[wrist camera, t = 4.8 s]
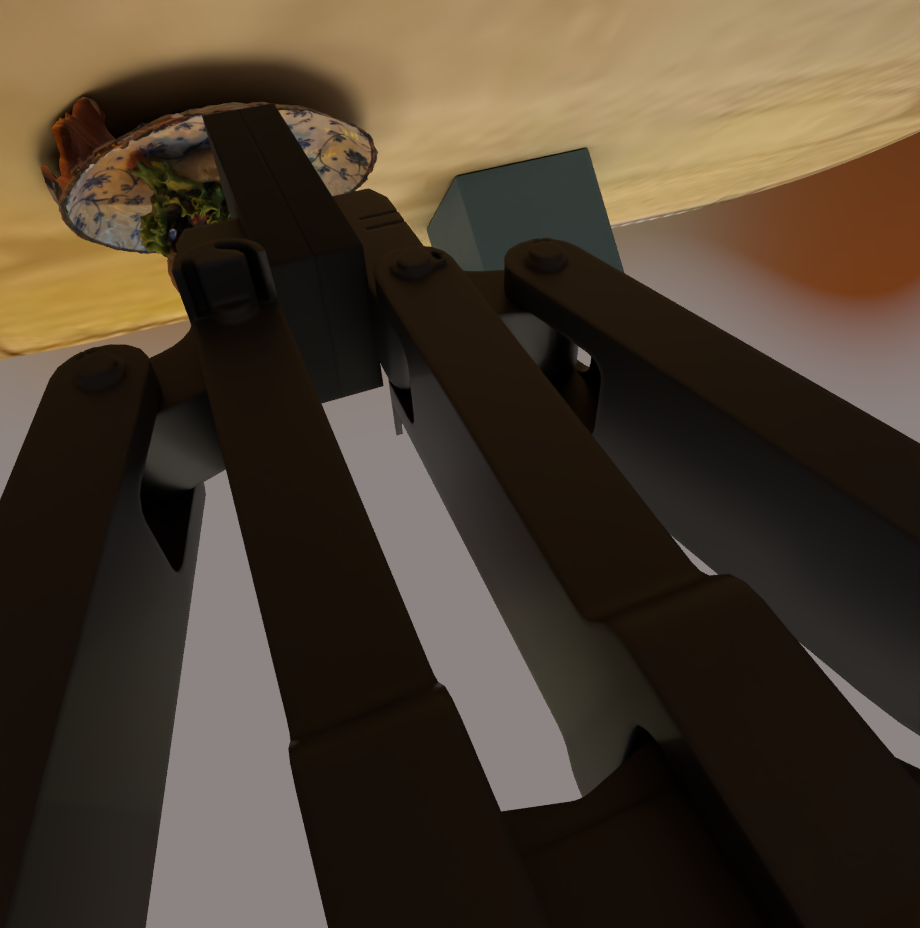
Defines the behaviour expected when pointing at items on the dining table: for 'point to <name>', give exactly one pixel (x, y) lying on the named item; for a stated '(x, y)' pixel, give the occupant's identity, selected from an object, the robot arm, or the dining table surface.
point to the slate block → (523, 211)
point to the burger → (176, 173)
